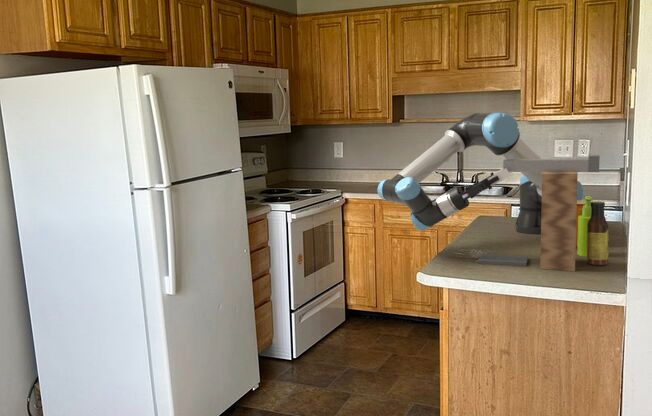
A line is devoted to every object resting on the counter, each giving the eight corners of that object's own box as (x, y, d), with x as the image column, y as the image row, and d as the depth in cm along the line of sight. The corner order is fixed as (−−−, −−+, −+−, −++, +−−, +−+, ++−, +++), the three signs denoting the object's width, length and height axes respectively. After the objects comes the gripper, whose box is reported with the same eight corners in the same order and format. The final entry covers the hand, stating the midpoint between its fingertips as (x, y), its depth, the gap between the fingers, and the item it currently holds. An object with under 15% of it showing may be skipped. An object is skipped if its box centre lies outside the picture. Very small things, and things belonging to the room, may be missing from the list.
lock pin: (503, 171, 193) (503, 156, 193) (504, 170, 198) (504, 155, 197) (599, 172, 183) (599, 156, 182) (598, 170, 187) (599, 154, 186)
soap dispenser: (577, 257, 202) (578, 197, 199) (577, 252, 208) (578, 194, 205) (596, 258, 200) (598, 198, 197) (595, 253, 206) (597, 195, 203)
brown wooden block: (540, 269, 189) (542, 173, 185) (542, 258, 202) (544, 168, 197) (575, 271, 186) (577, 173, 181) (575, 260, 198) (577, 168, 194)
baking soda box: (572, 241, 224) (573, 198, 222) (591, 242, 222) (592, 199, 220) (573, 247, 216) (574, 203, 213) (593, 248, 213) (594, 203, 211)
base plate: (478, 263, 199) (478, 260, 199) (482, 256, 207) (482, 254, 207) (526, 266, 193) (526, 263, 193) (528, 259, 202) (528, 256, 201)
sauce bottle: (612, 265, 190) (614, 202, 187) (594, 267, 189) (596, 204, 186) (599, 260, 197) (601, 200, 194) (582, 262, 196) (583, 201, 193)
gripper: (466, 205, 214) (520, 175, 205) (452, 217, 192) (512, 184, 183) (455, 186, 215) (509, 156, 206) (439, 197, 192) (499, 163, 183)
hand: (510, 169), depth 194 cm, fingers open, 13 cm apart
